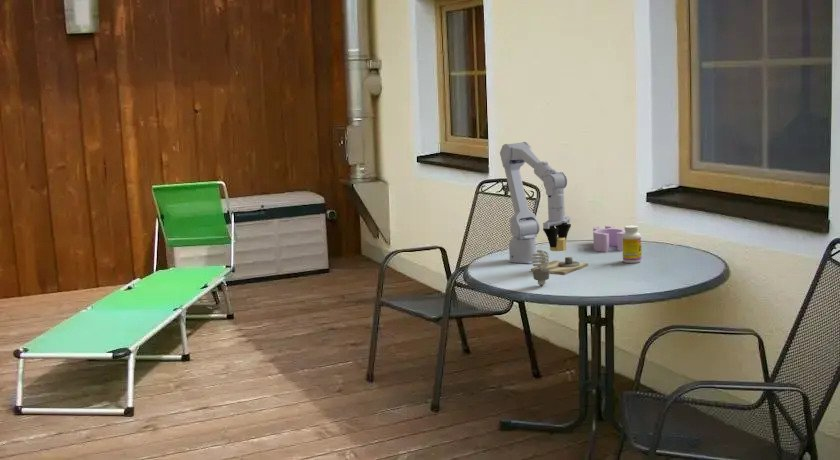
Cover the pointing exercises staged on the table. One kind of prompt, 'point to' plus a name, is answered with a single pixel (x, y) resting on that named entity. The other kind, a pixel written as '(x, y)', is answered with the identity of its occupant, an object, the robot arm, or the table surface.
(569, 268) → the stud plate
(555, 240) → the robot arm
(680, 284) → the table surface
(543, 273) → the light bulb
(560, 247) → the cap
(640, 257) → the supplement bottle
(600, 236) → the clip
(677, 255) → the table surface
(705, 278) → the table surface
